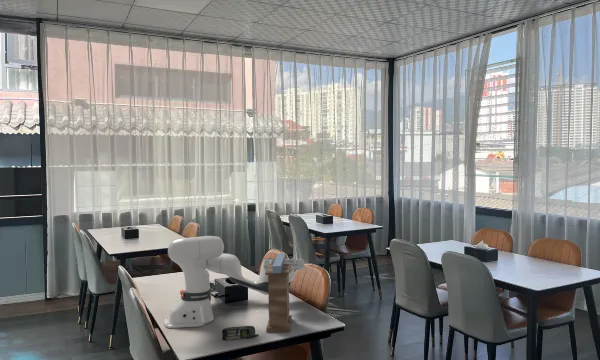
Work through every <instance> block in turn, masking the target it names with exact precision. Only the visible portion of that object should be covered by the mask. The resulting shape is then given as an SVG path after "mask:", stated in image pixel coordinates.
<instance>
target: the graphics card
mask: <svg viewBox="0 0 600 360" xmlns="http://www.w3.org/2000/svg"><path fill="white" fill-rule="evenodd" d="M209 281H210V289H211V297H213V298H218V297H217V296H218V295H217V293H218V292H217V291H216V290H215V285H214V282H215V281H214V280H209Z"/></svg>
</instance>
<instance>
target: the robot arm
mask: <svg viewBox="0 0 600 360" xmlns="http://www.w3.org/2000/svg"><path fill="white" fill-rule="evenodd" d="M224 250H225V245H224V241H223V239H222V238H221V237H220V236H215V235H202V236H192V237H182V238H177V239H175V240H172V241H171V242H170V243H169V245H168V248H167V255H168V258H170V260H171V261H172V262H174V263H175V264H177V265H178V266H179V267H180V268H181V270H182V272H183V275H184V284H185V285H184V286H185V290H184V289H181V290H180V291H179V294H180V295H181V296H180V300H178V301H177V302H176V303H175V304H173V305H172V306H171V308H170V310H169V314H168V316H167V317H165V319H164V322H163V324H164V327H165V328H168V329H177V328H194V327H195V328H197V327H202V326H205V325H206V324H208V323H210V322H212V321H213V320H214V319H215V317H214V316H215V315H214V313H213V310H212V309H213V307H212V304H211V302H212V295H211V289H210V281H211V280H210V272H212V273H214V274H215V273H216V274H220V275H225V276H227V277H228V279H229V280H230V282H232V283H234V284H236V285H240V286H242V287H245V288H248V289H251V290H253V291H257V293H261V294H263V295H264V296H269V293H268V275H265V272H266V270H267V268H268V266H269V264H274V262H275V259H276V257H275V258H274V257H273V258H271V257H270V258H267V259H263V261H262V263H261V266H260V272H259V276H258V280H257V281H255V280H251V279H248V278H246V277H244V276H243V273H242V265H241V261H240V260H239V258H238V257H237V256H236V255H234V254H231V253H224ZM284 264H291V268H290V271H289V283H291V282H292V281H293V280H294V279H295V276H296V273H295V271H303V270H304V269H305V268H306V265H305V260H304V259H301V258H297V259H295V258H294V257H293V258H292V257H290V258H289V259H287V258H286V260H285V263H284ZM209 271H210V272H209Z"/></svg>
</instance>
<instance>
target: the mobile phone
mask: <svg viewBox="0 0 600 360" xmlns="http://www.w3.org/2000/svg"><path fill="white" fill-rule="evenodd" d="M221 332H222V333H221V334H222V340H223V341H232V340H247V339H251V338H253V337H258V336H259V334H258V333H257V334H256V328H255V326H253V325H242V326H241V325H240V326H232V327H225V328H223V329H222V331H221Z"/></svg>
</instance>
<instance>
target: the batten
mask: <svg viewBox="0 0 600 360" xmlns="http://www.w3.org/2000/svg"><path fill="white" fill-rule="evenodd" d="M286 259H287V258H286V253H277V255H276V257H275V262H274V264H273V266H272V270H273V273H281V271H282V268H283V265H284V263H285V260H286Z"/></svg>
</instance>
